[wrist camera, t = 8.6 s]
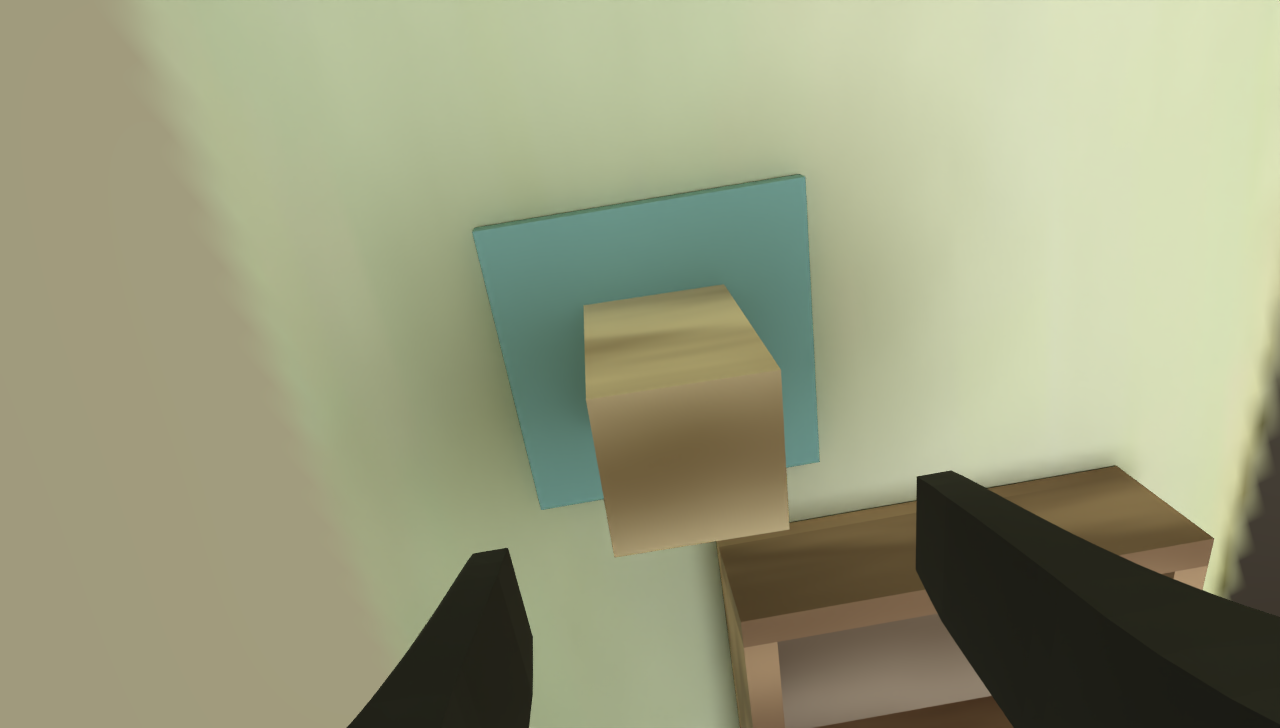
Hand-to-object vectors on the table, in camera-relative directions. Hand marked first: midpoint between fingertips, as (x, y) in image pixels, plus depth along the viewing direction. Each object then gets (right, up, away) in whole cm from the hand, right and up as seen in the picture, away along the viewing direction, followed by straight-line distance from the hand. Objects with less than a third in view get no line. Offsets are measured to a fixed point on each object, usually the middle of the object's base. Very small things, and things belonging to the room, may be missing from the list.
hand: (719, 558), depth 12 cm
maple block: (-1, +3, +8) cm, 9 cm away
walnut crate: (+9, -6, +14) cm, 17 cm away
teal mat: (-1, +4, +9) cm, 10 cm away
